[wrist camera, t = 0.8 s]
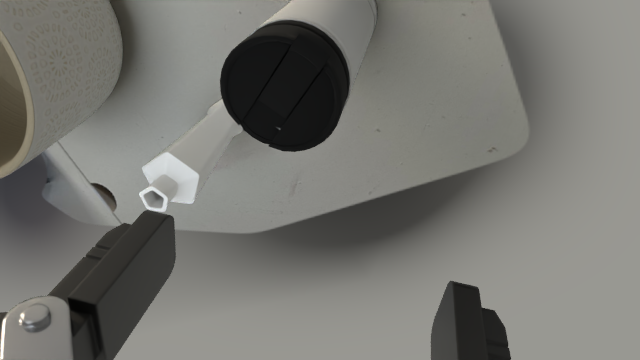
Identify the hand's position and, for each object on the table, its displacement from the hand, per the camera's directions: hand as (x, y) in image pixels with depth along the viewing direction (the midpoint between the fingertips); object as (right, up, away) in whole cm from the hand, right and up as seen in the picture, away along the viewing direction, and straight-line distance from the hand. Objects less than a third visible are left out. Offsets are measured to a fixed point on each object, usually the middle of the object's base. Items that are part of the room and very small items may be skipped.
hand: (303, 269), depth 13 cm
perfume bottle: (-8, +9, +33) cm, 35 cm away
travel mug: (+2, +17, +26) cm, 31 cm away
